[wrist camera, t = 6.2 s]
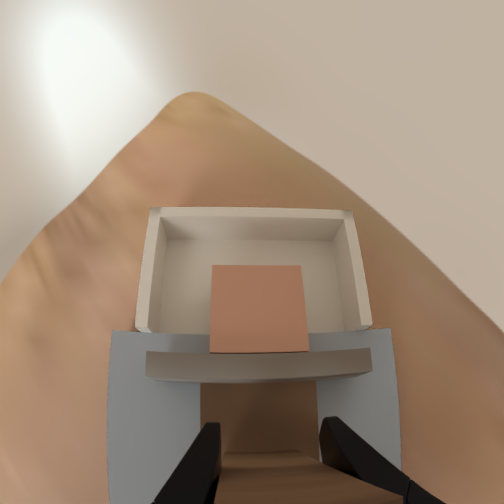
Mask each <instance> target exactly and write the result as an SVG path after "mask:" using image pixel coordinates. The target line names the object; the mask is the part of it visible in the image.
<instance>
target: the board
mask: <svg viewBox="0 0 504 504" xmlns="http://www.w3.org/2000/svg"><path fill="white" fill-rule="evenodd" d="M308 339H309V350H310V351H309V352H318V351H334V350H347V349H359V348H370V349H371V358H372V367H373V371H371V372H368V373H366V374H363V375H360V376H358V377H354V378H344V379H334V380H322V381H316V389H317V407H318V428H319V432H320V428H321V424H322V420H323V418H324V417H330V416H337V417H339V418H340V419H341V420H342V421H343V422H344V423H346V424H347V425H348V426H349V427H350V428H351V429H352V430H353V431H355V432H356V433H357V434H358V435H359V436H360V437H361V438H363V439H364V440H365V441H366V442H367V443H368V444H369V445H371V446H372V447H373V448H374V449H375V450H376V451H378V452H379V453H380V454H381V455H382V456H384V457H385V458H386V459H387V460H388V461H390V462H391V463H392V464H393V465H394V466H396V467H397V468H398V469H399V470H400V471H401V434H400V415H399V400H398V388H397V377H396V368H395V359H394V350H393V343H392V335H391V328H383V329H371V330H358V331H343V332H326V333H308ZM146 351H157V352H177V353H207V354H210V335H203V334H170V333H149V332H132V331H117V330H112V338H111V349H110V362H109V377H108V399H107V464H108V484H109V499H110V504H151V503H152V502H154V499H155V497H156V496H157V494H158V493H159V492H160V490H161V489H162V487H163V486H164V484H165V483H166V481H167V480H168V478H169V477H170V476H171V474H172V473H173V471H174V470H175V468H176V467H177V465H178V464H179V462H180V461H181V459H182V458H183V456H184V455H185V453H186V452H187V450H188V449H189V447H190V446H191V444H192V443H193V441H194V439H195V438H196V436H197V435H198V433H199V432H200V383H178V382H162V381H155V380H153V379H151V378H149V377H147V376H145V364H146ZM319 457H320V462H322V457H321V450H320V444H319Z"/></svg>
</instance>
